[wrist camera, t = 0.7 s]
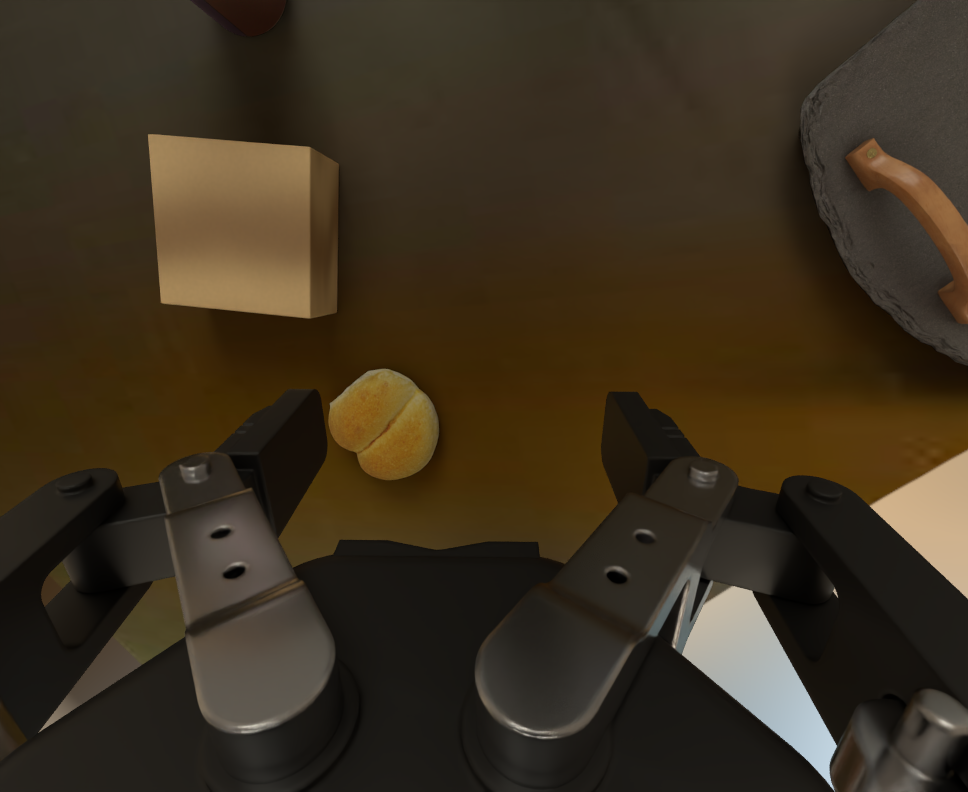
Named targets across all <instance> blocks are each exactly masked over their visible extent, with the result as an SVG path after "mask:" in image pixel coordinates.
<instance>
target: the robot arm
mask: <svg viewBox="0 0 968 792" xmlns="http://www.w3.org/2000/svg"><path fill="white" fill-rule="evenodd" d="M326 454H327V436H326V429H325V423H324V416H323V409H322V403H321V397H320V394H319V392H318V391H317V390H316V389H288V390H287V391H286V392H285V393H284V394H283V395H282V396H281V397H280V398H279V399H278V400H277V401H276V402H275V403H274V404H273V405H272V406H268V407H266V408H264V409H262V410H260V411H258V412H256V413H254V414H253V415H252V416H251V417H249V418H248V419H247V420H246V421H245V422H244V423H243V426H240V427H239V428H238V429H237V430H236V431H235V434H232V435H231V436H230V437H229V438H228V439H227V440H226V441H225V442H224V443H223V444H222V445H221V446H220V447H219V448H218V449H216V450H215V451H214V452H208V453H200V454H195V455H191V456H188V457H185V458H182V459H180V460H177V461H175V462H173V463H172V464H170V465H168V466H167V467H166V468H165V469H164V470H162V472H161V473H160V475H159V482H155V483H149V484H143V485H137V486H131V487H125V488H122V486H121V483H120V480H119V477H118V475H117V473H116V472H115V471H114V470H111V469H105V468H97V469H88V470H83V471H78V472H74V473H71V474H68V475H65V476H63V477H60V478H58V479H55V480H53V481H51V482H49V483H48V484H46V485H44V486H43V487H41V488H40V489H39V490H37V491H36V492H34V493H33V494H32V495H30V496H29V497H28V498H26V499H25V500H24V501H22V502H21V503H19V504H18V505H17V506H15V507H14V508H13V509H11V510H10V511H8V512H7V513H6V514H4V515H3V516H2V517H0V792H834V790H835V792H968V599H967V598H966V597H965V596H964V595H963V594H962V593H961V592H960V591H959V590H958V589H957V588H956V587H954V586H953V585H952V584H951V583H950V582H949V581H948V580H947V579H946V578H945V577H944V576H943V575H942V574H941V573H940V572H939V571H938V570H936V569H935V568H934V567H933V566H932V565H931V564H930V563H929V562H928V561H927V560H926V559H925V558H924V557H923V556H922V555H921V554H920V553H918V552H917V551H916V550H915V549H914V548H913V547H912V546H911V545H910V544H909V543H908V542H907V541H906V540H905V539H904V538H902V536H900V535H899V534H898V533H897V532H896V531H895V530H894V529H893V528H892V527H891V526H890V525H889V524H888V523H886V521H885V520H883V519H882V518H881V517H880V516H879V515H878V514H877V513H876V512H875V511H874V510H873V509H872V508H871V507H870V506H869V505H868V504H866V503H865V502H864V501H863V500H862V499H861V498H860V497H859V496H858V495H857V494H855V493H854V492H853V491H851V490H850V489H848V488H846V487H844V486H842V485H840V484H838V483H835V482H832V481H830V480H826V479H823V478H819V477H813V476H792V477H789V478H787V479H785V480H784V481H783V483H782V487H781V490H780V493H779V494H776V493H771V492H765V491H760V490H755V489H750V488H745V487H742V486H738V482H739V481H738V477H737V475H736V474H735V472H733V471H732V470H731V469H730V468H729V467H727V466H725V465H724V464H722V463H719V462H717V461H714V460H711V459H708V458H703V457H700V456H699V454H698V453H697V452H696V450H695V449H694V448H693V446H692V445H691V444H690V442H689V441H688V440H687V438H684V435H683V433H682V432H681V431H680V430H678V427H677V425H676V424H675V423H674V421H673V420H672V419H671V418H670V417H669V416H667V415H666V414H664V413H662V412H661V411H659V410H657V409H649V408H648V407H647V405H646V404H645V402H644V401H643V399H642V398H641V397H640V395H639V394H638V392H609V393H608V395H607V399H606V407H605V416H604V425H603V434H602V443H601V454H602V462H603V465H604V468H605V470H606V473H607V476H608V478H609V481H610V483H611V486H612V488H613V491H614V494H615V496H616V499H617V501H618V505H617V506H616V507H615V508H614V509H613V510H612V511H611V513H610V514H609V515H608V516H607V517H606V518H605V519H604V521H603V522H602V523H601V524H600V525H599V526H598V527H597V529H596V530H595V531H594V532H593V533H592V534H591V535H590V537H589V538H588V539H587V540H586V541H585V542H584V544H583V545H582V546H581V547H580V548H579V549H578V550H577V552H576V553H575V554H574V555H573V556H572V557H571V558H570V560H569V561H568V562H567V563H566V564H563V563H560V562H557V561H554V560H551V559H548V558H543V557H540V555H539V547H538V542H483V543H478V544H472V545H466V546H460V547H454V548H448V549H442V550H433V549H428V548H423V547H418V546H413V545H408V544H403V543H398V542H393V541H389V540H340V541H339V543H338V545H337V548H336V550H335V552H334V555H329V556H325V557H321V558H317V559H314V560H311V561H308V562H305V563H303V564H301V565H298V566H296V567H294V568H292V566H291V564H290V562H289V560H288V558H287V556H286V554H285V552H284V550H283V548H282V546H281V544H280V542H279V540H278V538H279V536H280V534H281V533H282V531H283V529H284V528H285V526H286V524H287V523H288V521H289V519H290V518H291V516H292V514H293V513H294V511H295V509H296V508H297V506H298V504H299V503H300V501H301V499H302V498H303V496H304V494H305V493H306V491H307V489H308V488H309V486H310V484H311V483H312V481H313V479H314V478H315V476H316V474H317V473H318V471H319V469H320V468H321V466H322V464H323V463H324V461H325V458H326ZM61 561H62V562H63V564H64V566H65V568H66V570H67V573H68V575H69V577H70V579H71V581H70V582H69V583H68V584H67V585H66V586H65V587H64V588H63V589H62V590H61V591H60V592H59V593H58V594H57V595H56V596H55V597H54V598H53V599H52V600H51V601H50V602H49V603H48V604H47V605H46V606H45V607H44V605H43V603H42V600H41V589H42V586H43V583H44V581H45V579H46V577H47V576H48V574H49V573H50V572H51V571H52V570H53V569H54V568H55V567H56V566H57V565H58V564H59V563H60V562H61ZM174 576H176V581H177V586H178V591H179V596H180V601H181V606H182V611H183V616H184V621H185V626H186V631H185V637H184V638H183V639H181V640H180V641H178V642H176V643H175V644H173V645H172V646H170V647H169V648H167V649H166V650H164V651H163V652H161V653H160V654H158V655H157V656H155V657H154V658H152V659H151V660H149V661H148V662H146V663H144V664H143V665H141V666H140V667H138V668H137V669H135V670H134V671H132V672H131V673H129V674H128V675H126V676H125V677H123V678H122V679H120V680H118V681H117V682H116V683H114V684H112V685H111V686H109V687H108V688H106V689H105V690H103V691H102V692H100V693H99V694H97V695H96V696H94V697H93V698H91V699H89V700H88V701H87V702H85V703H83V704H82V705H80V706H79V707H77V708H76V709H74V710H73V711H71V712H70V713H68V714H67V715H65V716H63V717H62V718H61V719H59V720H58V721H56V722H55V723H53V724H51V725H50V726H48V727H47V728H45V729H44V730H42V731H41V732H39V731H40V730H41V728H42V727H43V726H44V724H45V723H46V722H47V721H48V719H49V718H50V717H51V715H52V714H53V713H54V711H55V710H56V709H57V708H58V706H59V705H60V704H61V702H62V701H63V700H64V698H65V697H66V696H67V695H68V693H69V692H70V691H71V689H72V688H73V687H74V685H75V684H76V683H77V681H78V680H79V679H80V678H81V676H82V675H83V674H84V672H85V671H86V670H87V668H88V667H89V666H90V665H91V663H92V662H93V661H94V659H95V658H96V656H97V655H98V654H99V653H100V651H101V650H102V649H103V648H104V646H105V645H106V643H107V642H108V641H109V640H110V638H111V637H112V636H113V635H114V633H115V632H116V631H117V629H118V628H119V627H120V625H121V624H122V623H123V621H124V620H125V619H126V618H127V616H128V615H129V614H130V612H131V611H132V610H133V608H134V607H135V606H136V604H137V603H138V602H139V601H140V599H141V598H142V597H143V595H144V594H145V593H146V591H147V590H148V589H149V587H150V586H151V584H152V582H153V581H155V580H160V579H164V578H169V577H174ZM713 581H715V582H720V583H724V584H728V585H732V586H736V587H740V588H744V589H748V590H752V591H753V594H754V597H755V598H756V600H757V601H758V604H759V606H760V607H761V609H762V611H763V613H764V615H765V616H766V618H767V620H768V622H769V624H770V625H771V627H772V629H773V631H774V633H775V634H776V636H777V638H778V640H779V642H780V644H781V645H782V647H783V649H784V651H785V653H786V654H787V656H788V658H789V660H790V662H791V663H792V665H793V667H794V669H795V671H796V672H797V674H798V676H799V678H800V680H801V681H802V683H803V685H804V687H805V689H806V690H807V692H808V694H809V696H810V698H811V700H812V701H813V703H814V705H815V707H816V709H817V710H818V712H819V714H820V716H821V718H822V719H823V721H824V723H825V725H826V727H827V728H828V730H829V732H830V734H831V736H832V737H833V739H834V741H835V743H836V745H837V748H836V750H835V752H834V754H833V756H832V758H831V762H830V777H831V781H832V785H833V787H834V790H833V789H832V788H831V787H830V785H829V784H828V783H827V781H826V780H825V779H824V778H823V777H822V776H821V775H820V774H819V773H818V771H817V770H816V769H815V768H814V767H813V766H812V765H811V764H810V763H809V762H808V761H807V760H806V759H805V758H804V757H803V756H802V755H801V754H800V753H798V752H797V751H796V750H795V749H794V748H793V747H792V746H791V745H789V744H788V743H787V742H785V740H783V739H782V738H781V737H780V736H779V735H777V734H776V733H775V732H774V731H772V730H771V729H770V728H769V727H768V726H766V725H765V724H764V723H763V722H762V721H761V720H759V719H758V718H757V717H756V716H755V715H753V714H752V713H751V712H750V711H749V710H747V709H746V708H745V707H744V706H743V705H741V704H740V703H739V702H738V701H737V700H735V699H734V698H733V697H732V696H730V695H729V694H728V693H727V692H726V691H725V690H723V689H722V688H721V687H720V686H719V685H717V684H716V683H715V682H714V681H713V680H711V679H710V678H709V677H708V676H707V675H705V674H704V673H703V672H702V671H701V670H699V669H698V668H697V667H696V666H695V665H693V664H692V663H691V662H690V661H689V660H687V659H686V658H685V657H684V656H682V652H683V649H684V646H685V644H686V641H687V639H688V637H689V634H690V632H691V630H692V628H693V626H694V624H695V622H696V619H697V617H698V615H699V613H700V611H701V609H702V607H703V604H704V602H705V600H706V598H707V596H708V594H709V591H710V589H711V587H712V584H713ZM834 587H835V589H836V592H837V595H838V598H837V596H836V595H835V594H834V592H833V590H834ZM38 732H39V733H38Z"/></svg>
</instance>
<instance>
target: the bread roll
mask: <svg viewBox="0 0 968 792" xmlns="http://www.w3.org/2000/svg"><path fill="white" fill-rule="evenodd" d="M328 422H329V428H330V431H331V434H332V436H333V438H334V439H335V441H336V442H337V443H338V444H339V445H340V446H341V447H343V448H345V449H347V450H349V451H353V452H356V453H357V456H358V460H359V463H360V466H361V468H362V469H363V470H364V471H365V472H366V473H367V474H369V475H371V476H372V477H375V478H379V479H383V480H396V479H401V478H405V477H408V476H411V475H413V474H415V473H417V472H418V471H420V470H421V469H422V468H423V467H424V466H425V465H426V464H427V463H428V462H429V461H430V459H431V457H432V455H433V453H434V450H435V447H436V445H437V441H438V437H439V421H438V416H437V413H436V411H435V408H434V405H433V404H432V402H431V400H430V399H429V397H428V396H427V395H426V394H425V393H424V392H423V391H421V390H420V389H419V388H418V387H417V386H416V384H415V383H414V382H413V381H412V380H410V379H409V378H407V377H406V376H404V375H402V374H400V373H398V372H395V371H392V370H389V369H378V370H373V371H368V372H366V373H365V374H363V375H362V376H361V377H360V378H359V379H357V380H356V381H355V382H354V383H353V384H352V385H350V386H349V387H347V388H346V389H345V391H344V392H343V393H342V394H341V395H340V396H338V398H336V399H335V400H334V401H333V402H331V403H330V413H329V420H328Z"/></svg>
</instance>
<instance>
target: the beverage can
mask: <svg viewBox="0 0 968 792" xmlns="http://www.w3.org/2000/svg"><path fill="white" fill-rule="evenodd" d="M191 1H192V2H193V3H194V4H196V5H197V6H198V7H199V8H201V9H202V10H203V11H204V12H205V13H207V14H208V15H209V16H210V17H212V18H213V19H214V20H215V21H217V22H218V23H219V24H220V25H222V26H223V27H224V28H225V29H227V30H228V31H230V32H232V33H234V34H237V35H240V36H257V35H260V34H263V33H265V32H267V31H269V30H270V29H271V28H273V27H274V26H275V25H276V24H277V22H278V21H279V19H280V18H281V16H282V14H283V11H284V8H285V5H286V0H191Z"/></svg>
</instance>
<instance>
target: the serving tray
mask: <svg viewBox="0 0 968 792" xmlns="http://www.w3.org/2000/svg"><path fill="white" fill-rule="evenodd" d="M799 139H800V141H801V142H802V149H803V155H804V161H805V164H806V166H807V168H808V170H809V174H810V186H811V189H812V193H813V196H814V200H815V203H816V206H817V209H818V213H819V216H820V217H821V219H822V220H823V221H824V222H825V224H826V225H827V227H828V230H829V232H830V235H831V237H832V239H833V242H834V244H835V246H836V248H837V250H838V252H839V254H840V257H841V259H842V261H843V263H844V264H845V266H846V268H847V270H848V271H849V273H850V274H851V276H852V277H853V278H854V280H855V281H856V282H857V283H858V285H859V286H860V287H861V288H862V289H863V290H864V291H865V292H866V293H867V294H868V295H869V297H870V298H871V300H872V301H873V302H874V304H876V305H877V306H879V307H880V308H882V309H883V310H885V311H886V312H887V313H888V314H889V315H891V316H892V318H893V319H894V320H895V321H896V322H897V323H898V324H899V325H900V326H901V327H902V328H903V330H904V331H906V332H907V333H909V334H910V335H912V336H913V337H914V338H916V339H917V340H919V341H920V342H922V343H925V344H928V345H931V346H932V347H933V348H934V349H935V350H936V351H938V352H940V353H943V354H946V355H948V356H949V357H950V358H952V359H953V360H954V361H955V362H958V363H961V364H964V365H967V366H968V0H917V1H916V2H915V3H914V4H913V5H912V6H910V7H909V8H908V9H907V10H906V11H905V12H903V13H902V14H900V15H899V16H898V17H896V18H895V19H894V20H893V21H892V22H891V23H890V24H888V25H887V26H886V27H885V28H884V29H883V30H882V31H880V32H879V33H878V34H877V35H876V36H875V37H873V38H872V39H871V40H870V41H869V42H868V43H866V44H865V45H864V46H862V47H861V48H860V49H859V50H858V51H857V52H856V53H855V54H854V55H852V56H851V57H850V58H849V59H847V60H846V61H845V62H844V63H842V64H841V65H840V66H839V67H838V68H836V69H835V70H834V71H833V72H832V73H830V74H829V75H828V76H827V77H826V78H825V79H824V80H822V81H821V82H820V83H819V84H818V85H817V86H816V87H815V88H814V89H813V91H812V92H811V93H810V94H809V95H808V96H807V97H806V98H805V100H804V102H803V104H802V107H801V126H800V129H799Z"/></svg>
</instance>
